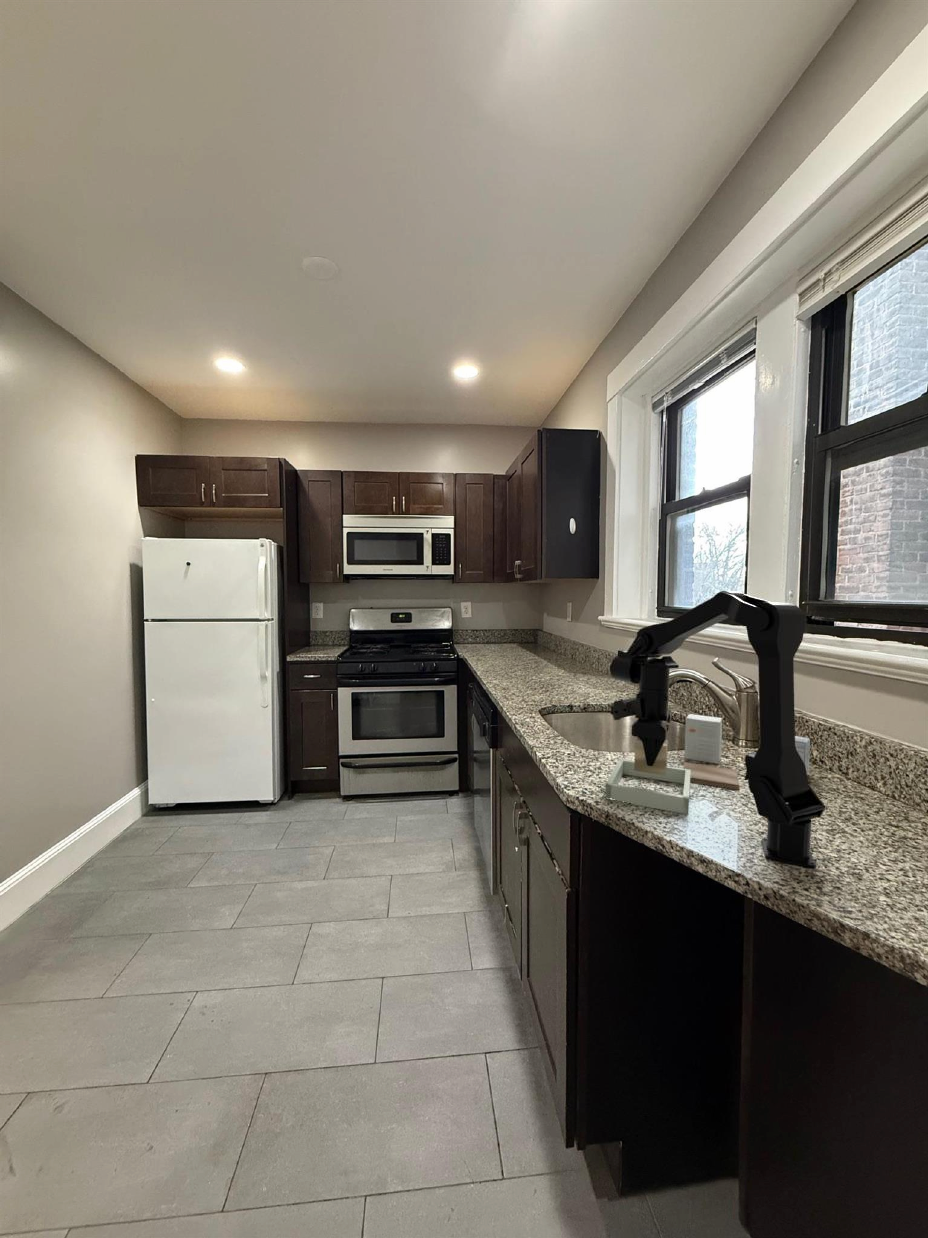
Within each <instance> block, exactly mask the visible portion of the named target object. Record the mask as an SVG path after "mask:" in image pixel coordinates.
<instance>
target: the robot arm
mask: <svg viewBox="0 0 928 1238" xmlns="http://www.w3.org/2000/svg"><path fill="white" fill-rule="evenodd" d="M727 619H730V620H731V621H733V622H735V623H737V624H739V625H741V626H744V627H746V628H745V629H746V634H747V639H748V642H749V643H750V646H751V647H752V649H753V651H754V653H755V655H756V656H757V664H758V665H757V666H758V671H757V672H758V708H759V709H758V710H759V711H758V712H759V714H758V715H759V718H758V719H759V723H758V724H759V745H758V748H757V750H756V752H755V753H748V754H745V758H744V762H745V769H746V771H745V776H744V781H748V783H747V784H748V790H749V791H750V793H751V794H752V796H753V799H754V803H755V808H756V810H757V814H758V815H759V816H760V817H763V818H765V819H766V820H767V829H766V832H767V833H766V838H762V839H761V845H762V848H763V851H764V856H765V858H767V859H769V860H773V861H778V862H782V863H787V864H792V865H798V866H801V867H807V868H812V869H816V868H817V862H815V859H814V857H813V854H812V852H811V838H812V837H811V836H812V820H813V819H816V818H817V819H818V818H821V817H822V816H823V814H824V813H825V810H826V807H827V806H826V805H825V804H824V802H823V801H822V800H821V799H820V797H819V796H818V795H817V793H816V792H815V790H814V789H813V788H812V787H811V785H810V783H809V778H808V777H809V776H807V772H806V767H805V764H804V762H803V760H802V759H801V757H800V755H799V753H798V752H797V750H796V747H795V736H796V725H795V724H796V720H795V719H796V717H795V712H796V711H795V673H794V672H795V671H794V659H795V655H796V653H797V652H798V650H799V648H800V646H801V644H802V642H803V640H804V639H803V638H804V633H805V626H806V614H805V612H804V611H803V610H802V609H801V608H800V607H799V606H798V605H796V604H795V603H792V602H779V601H778V602H777V601H775V602H774V601H769V600H766V599H762V598H758V597H755V596H751V595H749V594H745V593H744V592H741V591H736V590H735V591H732V590H731V591H730V590H721V591H719V592H717V593H715V594H714V596H712V597H711V598H709V599H707V600H705V601H703V602H702V603H700V604H698V605H696V606H694V607H693V608H690V609H689V610H687V611H685V612H683V613H682V614H680V615H677V616H675V617H674V618H672V619H670V620H668V621H665V622H661V623H655V624H651V625H648V626H643V627H642V628H640V629H639V630H638V631H637V633H636V637H635V638H634V640H633V641H632V642H631V645H630V646H629V648H628V649H627V650H624V649H623V650H617V655H616V656H615V657H614V658H613V660H612V661H611V663H610V665H609V672H610V676H611V677H612V678H613V679H614V680H616V681H621V682H626V683H630V684H635V685H638V687H639V688H638V692H637V693H636V696H635V697H630V698H626V699H622V698H621V699H619V700H614V701H613V702H612V703H611V704H610V705H609V708H610V712H609V713H610V714H611V715H612V717H613V720H614V721H619V720H621V719H624V718H627V717H631V716H634V718H635V719H636V720H635V721H634V722H633V723H632V724H631V736H633V737H635V738H637V737H638V738H639V739H640V740H641V741H642V743H643V748H644V753H645V758H646V763H647V765H648V766H653V764H654V762H655V760H656V758H657V756H658V754H659V752H660V750H661V748H662V746H663V743H664V741H665V740H667V736H668V734H667V733H668V732H669V730H670V725H668V724H670V723H671V719H672V712H671V710H670V709H669V698H670V690H669V689H670V669H671V670H672V669H679V667H680V666H679V664H678V663H677V662H676V661H675V660H674V658H673V657H672V656H671V654H673V653H674V652H675V651H676V650H678V649H679V648H681V646H682V645H684V644H683V643H684V642H685V641H686V640H687V639H688V638H690V637H691V636H692V637H693V636H694V635H697V634H698V633H700V632H702V631H705V629H708V628H710V627H712V626H715V625H716V624H719V623H721V622H722V621H724V620H727ZM665 722H666V723H668V724H666V723H665Z"/></svg>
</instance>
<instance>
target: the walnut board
mask: <svg viewBox="0 0 928 1238" xmlns="http://www.w3.org/2000/svg"><path fill="white" fill-rule="evenodd" d="M683 762H684V763H683V769H689V770H691V775H690V783H695V784H701V785H702V784H703V785H707V786H708V785H709V786H713V787H714V786H715V787H719V788H724V789H725V788H726V789H732V790H740V780H739V776H738V772H737V769H735V768H727V767H719V766H714V765H708V764H707V765H706V764H699V763H694V762H693V763H692V762H686V761H683Z"/></svg>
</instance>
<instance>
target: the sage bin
mask: <svg viewBox="0 0 928 1238" xmlns="http://www.w3.org/2000/svg"><path fill="white" fill-rule="evenodd" d="M634 763H635V760H627V759H622V758H619V760H618V762H616V765H615V767H614V769H613V771H612V772H611V774H610V775H609V778H608V780H607V782H606V783H605V798H606V797H607V798H612V799H615V800H619V801H624V802H627V803H626V804H629V803H631V804H630V805H636V806H640V807H645V808H651V809H656V810H657V809H658V810H663V811H667V812H672V813H673V812H674V813H677V814H683V815H689V809H690V808H689V806H690V790H691V782H690V775H691V770H689V769H684V768H681V767H675V766H668V765H667V770H666V775H659V774H652V773H646V772H640V771H634ZM623 775H629V776H634V777H638V778H639V777H641V778H646V779H652V780H659V781H663V782H664V781H665V782H671V783H677V784H683V791H682V792H683V795H680V794H675V793H669V792H665V791H664V792H663V791H657V790H651V789H646V788H641V787H640V788H639V787H635V786H630V785H629V786H628V785H623V784H619V783H620V781H621V778H622V777H623ZM619 801H618V802H619ZM624 802H623V803H624Z"/></svg>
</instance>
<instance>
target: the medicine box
mask: <svg viewBox="0 0 928 1238" xmlns="http://www.w3.org/2000/svg"><path fill="white" fill-rule="evenodd" d="M795 747H796V750H797V752H798V753H799V755H800V757H801V759H802V760H803V762H804V764H805V767H806V772H807V777H809V774H810V753H811V752H810V751H811V739H810V738H808V737H803V736H799V735H795Z"/></svg>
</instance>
